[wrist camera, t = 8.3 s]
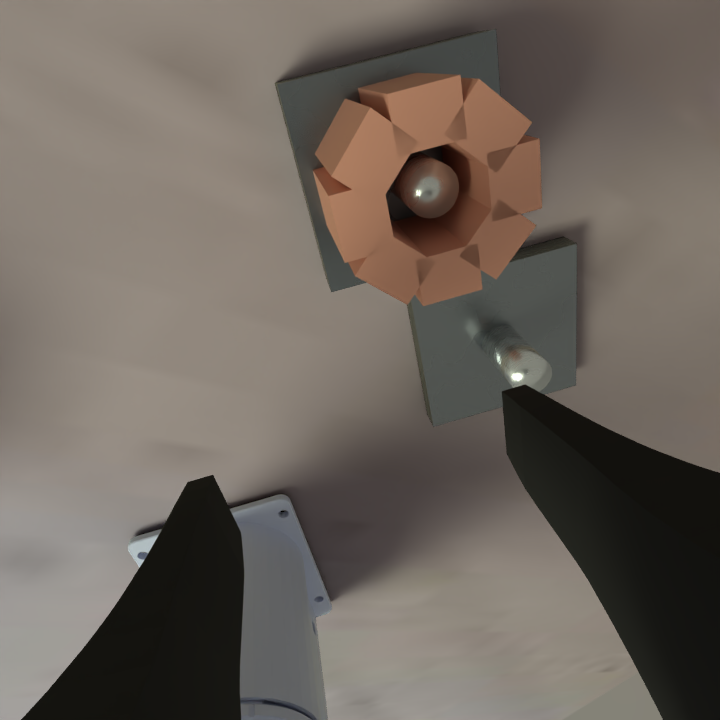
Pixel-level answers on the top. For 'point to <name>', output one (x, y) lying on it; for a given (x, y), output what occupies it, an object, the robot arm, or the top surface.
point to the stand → (500, 334)
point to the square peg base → (330, 87)
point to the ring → (460, 152)
